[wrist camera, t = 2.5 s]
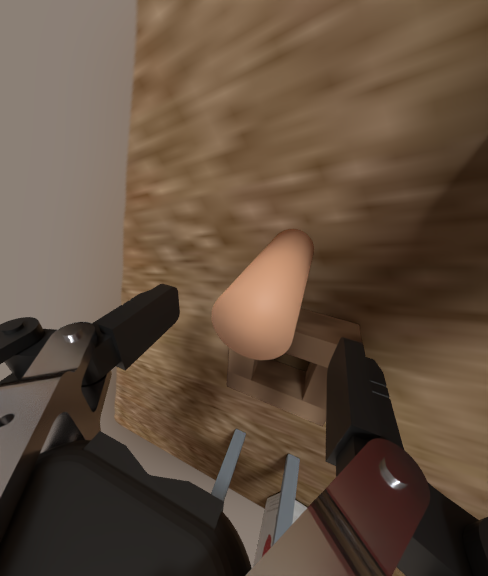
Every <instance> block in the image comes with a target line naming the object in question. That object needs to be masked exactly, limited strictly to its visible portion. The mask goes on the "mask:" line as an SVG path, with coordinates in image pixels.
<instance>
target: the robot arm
mask: <svg viewBox="0 0 488 576" xmlns="http://www.w3.org/2000/svg"><path fill="white" fill-rule="evenodd" d="M179 314H180V310H179V299H178V290H177V288H175V287H172V286H169V285H165V284H160V285H158V286H156V287H155V288H153V289H152V290H149V291H146V292H144V293H141V294H139V295H137V296H135V297H134V298H132V299H131V300H130V301H127V302H126V303H124V304H123V305H121V306H119V307H118V308H116V309H114V310H113V311H111V312H110V313H108V314H106V315H105V316H103V317H102V318H100V319H99V320H97V321H95V322H94V323H92V324H91V323H89V322H77V323H72V324H68V325H66V326H64V327H62V328H60V329H58V330H52V329H42V327H41V325H40V323H39V321H38V320H37V319H35V318H31V317H25V318H18V319H14V320H11V321H8V322H5V323H3V324H1V325H0V364H1V363H3V362H5V363H6V365H7V366H8V367H9V369H10V370H11V371H12V374H11V375H9V376H7V377H6V378H4V379H3V380H1V381H0V576H392V574H393V572H394V570H395V568H396V567H397V568H398V569H399V570H400V571H402V572H403V573H404V574H405V575H406V576H488V517H486V518H484V519H481V520H478V519H476V518H475V517H473V516H472V515H471V514H469V513H468V512H466V511H465V510H464V509H462V508H461V507H460V506H458V505H457V504H455V503H454V502H453V501H451V500H450V499H448V498H447V497H446V496H444V495H443V494H442V493H440V492H439V491H438V490H436V489H435V488H434V487H433V486H431V485H430V484H429V483H428V482H427V480H426V478H425V476H424V474H423V472H422V470H421V469H420V467H419V466H418V464H417V463H416V462H415V461H414V460H413V458H412V457H411V456H410V455H409V454H408V453H407V452H406V451H405V450H404V448H403V445H402V441H401V437H400V434H399V430H398V426H397V423H396V419H395V415H394V411H393V408H392V404H391V400H390V399H389V393H388V389H387V388H386V382H385V378H384V374H383V372H382V370H381V369H380V367H379V366H378V365H377V363H376V362H375V360H373V359H370V358H367V357H365V352H364V347H363V344H362V343H361V342H358V341H355V340H351V339H348V338H345V337H341V338H340V340H339V342H338V345H337V347H336V349H335V351H334V353H333V356H332V358H331V360H330V363H329V366H328V370H327V401H326V462H328V463H330V464H332V465H335V466H336V478H335V479H334V480H333V481H332V482H331V483H330V485H329V486H328V487H327V488H326V489H325V490H324V491H323V492H322V493H321V494H320V495H319V496H318V497H317V498H316V499H315V500H314V501H313V502H312V503H311V504H310V506H309V507H308V508H307V509H306V510H305V511H304V512H303V513H302V514H301V515H300V516H299V518H298V519H297V520H296V521H295V522H294V523H293V524H292V525H291V526H290V527H289V529H288V530H287V531H286V532H285V533H284V534H283V535H282V536H281V537H280V538H279V539H278V541H277V542H276V543H275V544H274V545H273V546H272V547H271V548H270V549H269V550H268V551H267V553H266V554H265V555H264V556H263V557H262V558H261V559H260V560H259V561H258V562H257V564H256V565H255V566H254V567H253V568H251V565H250V561H249V558H248V555H247V553H246V550H245V547H244V545H243V542H242V541H241V539H240V536H239V535H238V533H237V531H236V529H235V528H234V526H233V525H232V523H231V522H230V520H229V519H228V518H227V517H226V516H225V514H224V513H223V505H224V501H222V500H221V499H219V498H217V497H215V496H213V495H212V494H210V493H208V492H206V491H205V490H203V489H201V488H199V487H198V486H196V485H194V484H192V483H190V482H189V481H182V480H176V479H170V478H163V477H157V476H151V475H149V474H147V472H146V471H145V470H144V469H143V467H142V466H141V465H140V463H139V462H138V461H137V460H136V458H135V457H134V456H133V454H132V453H131V452H130V451H129V449H128V448H127V446H125V445H124V444H122V443H120V442H118V441H116V440H115V439H113V438H111V437H109V436H108V435H106V434H104V433H102V432H101V429H100V417H101V412H102V409H103V405H104V401H105V397H106V394H107V390H108V387H109V383H110V379H111V375H112V372H111V370H112V369H113V368H114V367H115V366H117V367H119V368H121V369H123V370H126V369H127V368H128V367H130V366H131V365H132V364H133V363H134V362H135V361H136V360H137V359H138V358H139V357H140V356H141V355H142V354H143V353H144V352H145V351H146V350H147V349H148V348H149V347H150V346H152V345H153V344H154V343H155V342H156V341H157V340H158V339H159V338H160V337H161V336H162V335H163V334H164V333H165V332H166V331H167V330H168V329H169V328H170V327H171V326H172V325H173V324H175V322H176V321H177V320H178V317H179Z"/></svg>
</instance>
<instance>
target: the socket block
mask: <svg viewBox="0 0 488 576" xmlns="http://www.w3.org/2000/svg"><path fill="white" fill-rule="evenodd" d="M341 337H345V338H348V339H351V340H355V341H358V342H361V343H362V339H361V333H360V328H359V324H355V323H352V322H348V321H345V320H341V319H338V318H334V317H330V316H327V315H323V314H320V313H316V312H313V311H309V310H305V309H302V308H300V312H299V316H298V320H297V324H296V328H295V332H294V337H293V341H292V344H291V346H290V347H289V349H288V350H287V351H286V352H285V353H286V354H289V355H292V356H294V357H297V358H300V359H303V360H306V361H309V362H310V363H309V366H308V369H307V371H306V372H305V371H302V370H299V369H296V368H294V367H291V366H288V365H285V364H282V363H280V362H277V361H274V360H255V359H251V358H247V357H245V356H242V355H240V354H238V353H236V352H235V351H233V350H232V349H230V348H229V360H228V374H227V387H230V388H232V389H234V390H237V391H239V392H242V393H244V394H246V395H249V396H251V397H254V398H256V399H258V400H261V401H263V402H265V403H268V404H270V405H273V406H275V407H277V408H280V409H282V410H284V411H287V412H289V413H292V414H294V415H296V416H299V417H301V418H303V419H306V420H308V421H311V422H313V423H315V424H318V425H320V426H323V425H324V423H325V422H326V401H327V370H328V366H329V363H330V360H331V358H332V356H333V353H334V351H335V349H336V347H337V345H338V342H339V340H340V338H341Z"/></svg>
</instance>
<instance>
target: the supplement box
mask: <svg viewBox="0 0 488 576" xmlns="http://www.w3.org/2000/svg"><path fill="white" fill-rule="evenodd" d="M280 493H281V492H280ZM280 493H278V494H276V495H274V496H271V497H269V498H267V502H266V506H265V511H264V516H263V521H262V526H261V531H260V535H259V540H258V545H257V551H256V555H255V560H254V565H253V567H254V566H255V565H256V564H257V562H258V561H259V560H260V559H261V558H262V557H263V556H264V555H265V554H266V553H267V551H268V550H269V549H270V548H271V547H272V541H273V535H274V529H275V523H276V517H277V511H278V505H279V499H280ZM306 509H307V507H306V506H304V505H303V504H301V503H300V502H298V501H297V500H295V505H294V513H293V522H292V524H293V523H294V522H295V521H296V520H297V519H298V518H299V516H300V515H301V514H302V513H303V512H304V511H305V510H306Z"/></svg>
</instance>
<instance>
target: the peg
mask: <svg viewBox="0 0 488 576" xmlns="http://www.w3.org/2000/svg"><path fill="white" fill-rule="evenodd" d="M313 254H314V246H313V242H312V240H311V238H310V237H309V236H308V235H307V234H306V233H304V232H303V231H300V230H297V229H288V230H284V231H282V232H280V233H279V234H278V235H277V236H276V237H275V238H274V239H273V240H272V241H271V242H270V243H269V244H268V246H267V247H266V248H265V249H264V250H263V251H262V252H261V253H260V254H259V255H258V256H257V257H256V258H255V259H254V261H253V262H252V263H251V264H250V265H249V266H248V267H247V268H246V269H245V270H244V271H243V272H242V273H241V274H240V276H239V277H238V278H237V279H236V280H235V281H234V282H233V283H232V284H231V285H230V286H229V287H228V288H227V289H226V291H225V292H224V293H223V294H222V295H221V296H220V297H219V298H218V299H217V300H216V302H215V303H214V306H213V309H212V323H213V326H214V329H215V331H216V333H217V334H218V336H219V337H220V339H221V340H222V341H223V342H224V343H225V344H226V345H227V346H228V347H229V348H230V349H232V350H233V351H235V352H236V353H238V354H240V355H242V356H245V357H247V358H251V359H255V360H271V359H275V358H277V357H279V356H281V355H283V354H284V353H285V352H286V351H287V350H288V349H289V347H290V346H291V344H292V341H293V337H294V332H295V328H296V324H297V320H298V316H299V312H300V308H301V303H302V299H303V295H304V291H305V287H306V283H307V279H308V275H309V270H310V266H311V262H312V258H313Z"/></svg>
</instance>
